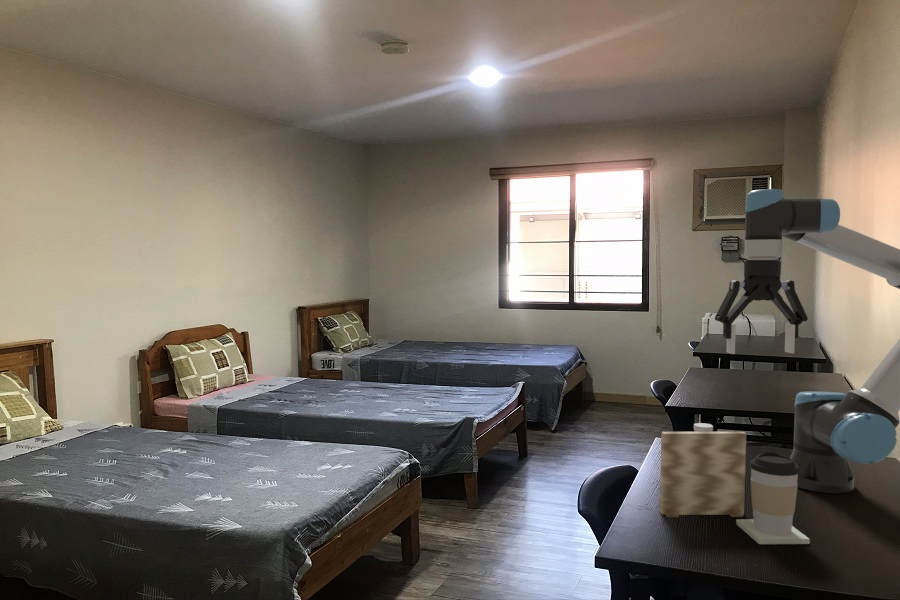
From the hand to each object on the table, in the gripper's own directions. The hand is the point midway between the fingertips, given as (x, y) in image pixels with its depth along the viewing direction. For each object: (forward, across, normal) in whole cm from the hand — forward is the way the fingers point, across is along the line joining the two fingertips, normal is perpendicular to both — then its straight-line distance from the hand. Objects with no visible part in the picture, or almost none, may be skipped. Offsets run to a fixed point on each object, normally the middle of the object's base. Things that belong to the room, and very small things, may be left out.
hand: (760, 353), depth 152 cm
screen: (+34, +15, +6) cm, 38 cm away
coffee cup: (+34, +6, +18) cm, 38 cm away
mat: (+34, +6, +18) cm, 39 cm away
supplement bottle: (+35, +4, -20) cm, 41 cm away
